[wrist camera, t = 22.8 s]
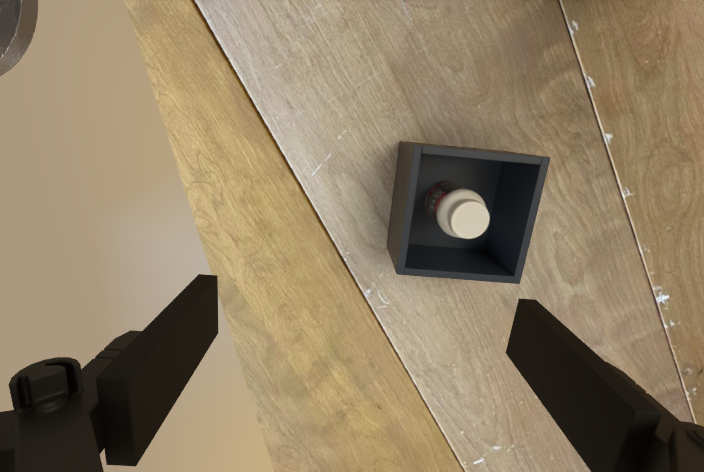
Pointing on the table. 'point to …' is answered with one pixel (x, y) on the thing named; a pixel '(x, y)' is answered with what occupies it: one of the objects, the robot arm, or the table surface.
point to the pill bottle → (457, 210)
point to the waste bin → (498, 195)
